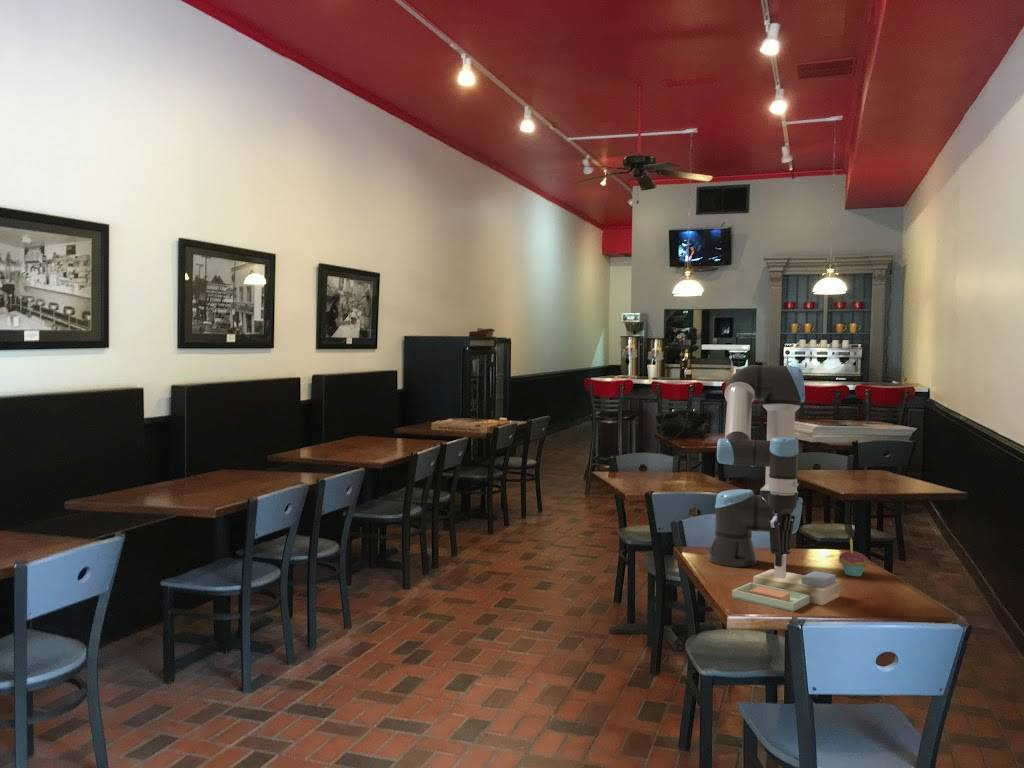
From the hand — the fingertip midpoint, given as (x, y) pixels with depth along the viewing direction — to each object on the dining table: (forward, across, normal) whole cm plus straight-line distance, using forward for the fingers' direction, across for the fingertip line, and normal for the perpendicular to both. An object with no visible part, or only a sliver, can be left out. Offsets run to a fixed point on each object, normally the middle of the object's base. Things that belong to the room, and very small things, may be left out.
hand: (779, 577), depth 229 cm
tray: (+5, -6, 0) cm, 8 cm away
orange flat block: (+4, -6, 0) cm, 7 cm away
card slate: (0, +8, -8) cm, 11 cm away
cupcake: (+6, +40, -6) cm, 41 cm away
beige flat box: (+5, +6, -2) cm, 9 cm away
